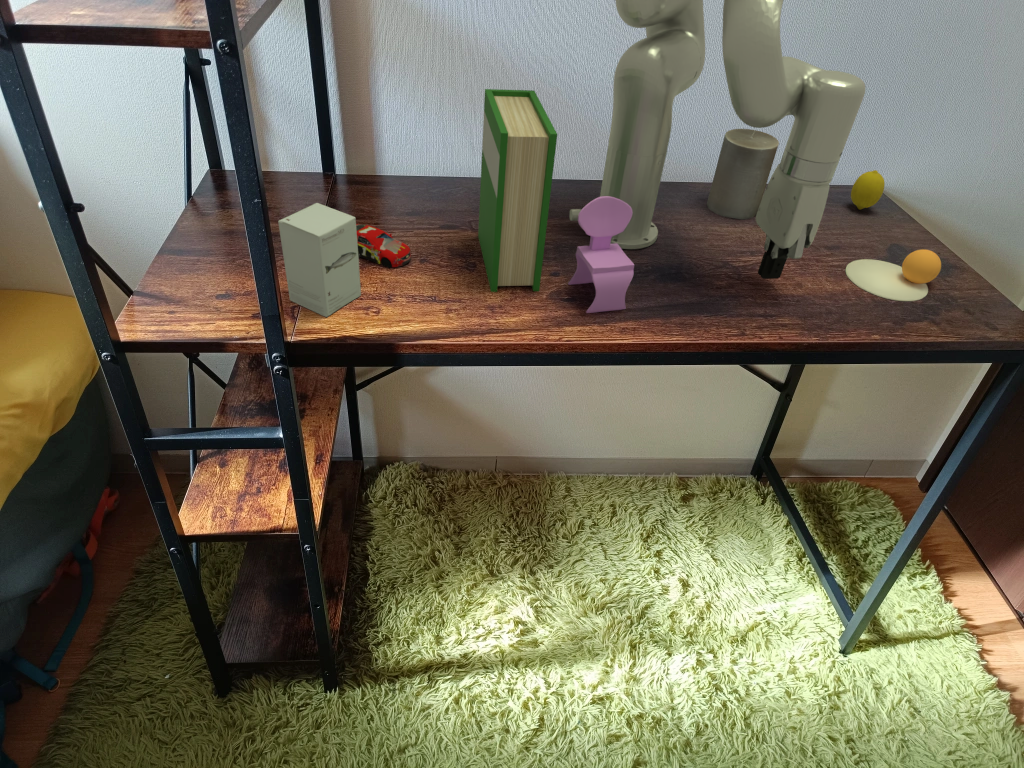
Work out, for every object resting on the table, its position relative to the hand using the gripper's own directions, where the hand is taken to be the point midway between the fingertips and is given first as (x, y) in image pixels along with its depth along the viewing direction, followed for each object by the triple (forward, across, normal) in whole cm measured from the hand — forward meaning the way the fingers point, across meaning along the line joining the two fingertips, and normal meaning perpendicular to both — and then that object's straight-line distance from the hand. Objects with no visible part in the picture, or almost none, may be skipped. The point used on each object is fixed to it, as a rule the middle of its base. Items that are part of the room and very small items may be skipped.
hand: (768, 275), depth 111 cm
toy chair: (+2, +2, -29) cm, 29 cm away
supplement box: (+2, 0, -69) cm, 69 cm away
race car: (+2, -13, -62) cm, 63 cm away
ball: (-1, +1, +27) cm, 27 cm away
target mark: (+2, 0, +22) cm, 22 cm away
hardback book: (+2, -9, -41) cm, 42 cm away
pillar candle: (+2, -27, +6) cm, 28 cm away
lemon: (+2, -26, +33) cm, 42 cm away
